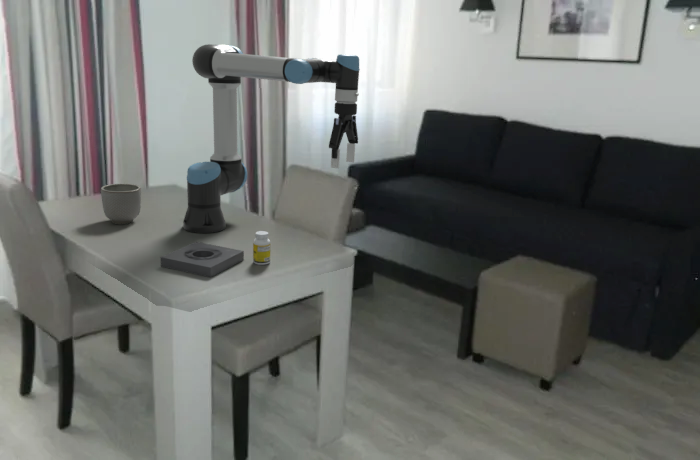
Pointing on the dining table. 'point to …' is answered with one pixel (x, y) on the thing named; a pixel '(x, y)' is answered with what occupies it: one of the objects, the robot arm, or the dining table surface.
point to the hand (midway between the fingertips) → (342, 164)
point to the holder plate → (202, 259)
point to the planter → (121, 202)
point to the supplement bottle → (261, 248)
